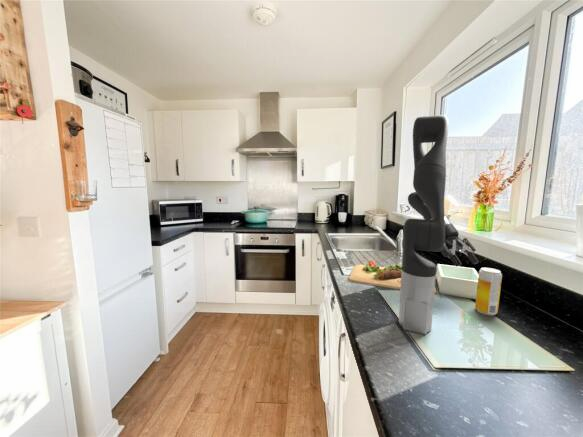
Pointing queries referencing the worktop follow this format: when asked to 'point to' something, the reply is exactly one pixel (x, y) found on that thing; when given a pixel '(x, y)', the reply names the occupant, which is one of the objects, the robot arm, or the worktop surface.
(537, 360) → the worktop surface
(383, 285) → the cutting board
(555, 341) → the worktop surface
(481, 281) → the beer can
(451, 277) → the bin
